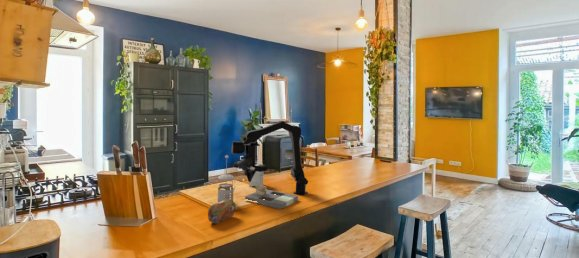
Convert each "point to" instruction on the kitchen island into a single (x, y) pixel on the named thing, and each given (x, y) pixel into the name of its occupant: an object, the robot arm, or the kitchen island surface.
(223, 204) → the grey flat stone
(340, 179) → the kitchen island surface
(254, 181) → the supplement box
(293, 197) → the board
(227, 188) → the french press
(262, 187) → the maple block
